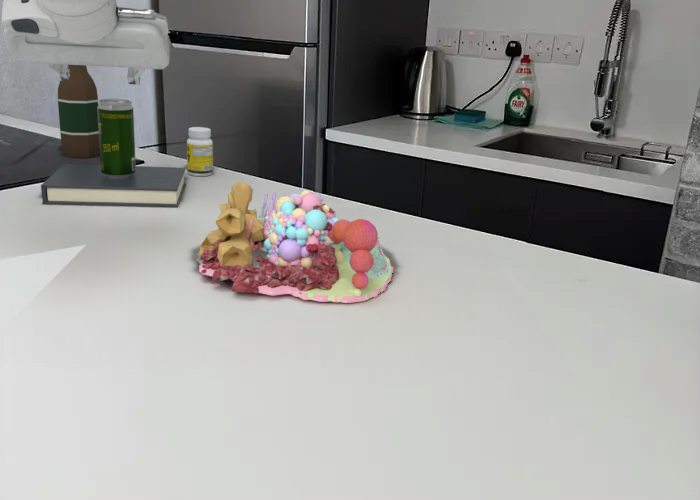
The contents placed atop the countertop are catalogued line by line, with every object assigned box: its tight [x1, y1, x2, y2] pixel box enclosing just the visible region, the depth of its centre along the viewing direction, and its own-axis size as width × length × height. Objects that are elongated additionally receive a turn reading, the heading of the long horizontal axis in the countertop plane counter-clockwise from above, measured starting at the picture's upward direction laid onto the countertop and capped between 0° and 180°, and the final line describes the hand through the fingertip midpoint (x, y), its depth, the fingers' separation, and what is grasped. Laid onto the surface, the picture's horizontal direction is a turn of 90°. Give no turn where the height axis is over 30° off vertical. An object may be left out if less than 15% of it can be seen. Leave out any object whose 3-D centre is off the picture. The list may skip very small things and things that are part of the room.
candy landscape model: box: [195, 182, 395, 304], centre depth 86 cm, size 25×24×9 cm
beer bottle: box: [57, 65, 100, 159], centre depth 132 cm, size 8×8×24 cm
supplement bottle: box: [186, 126, 214, 177], centre depth 126 cm, size 5×5×8 cm
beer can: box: [97, 98, 137, 179], centre depth 109 cm, size 5×5×12 cm
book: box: [40, 163, 186, 208], centre depth 111 cm, size 20×14×3 cm
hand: (100, 79), depth 96 cm, fingers open, 8 cm apart
